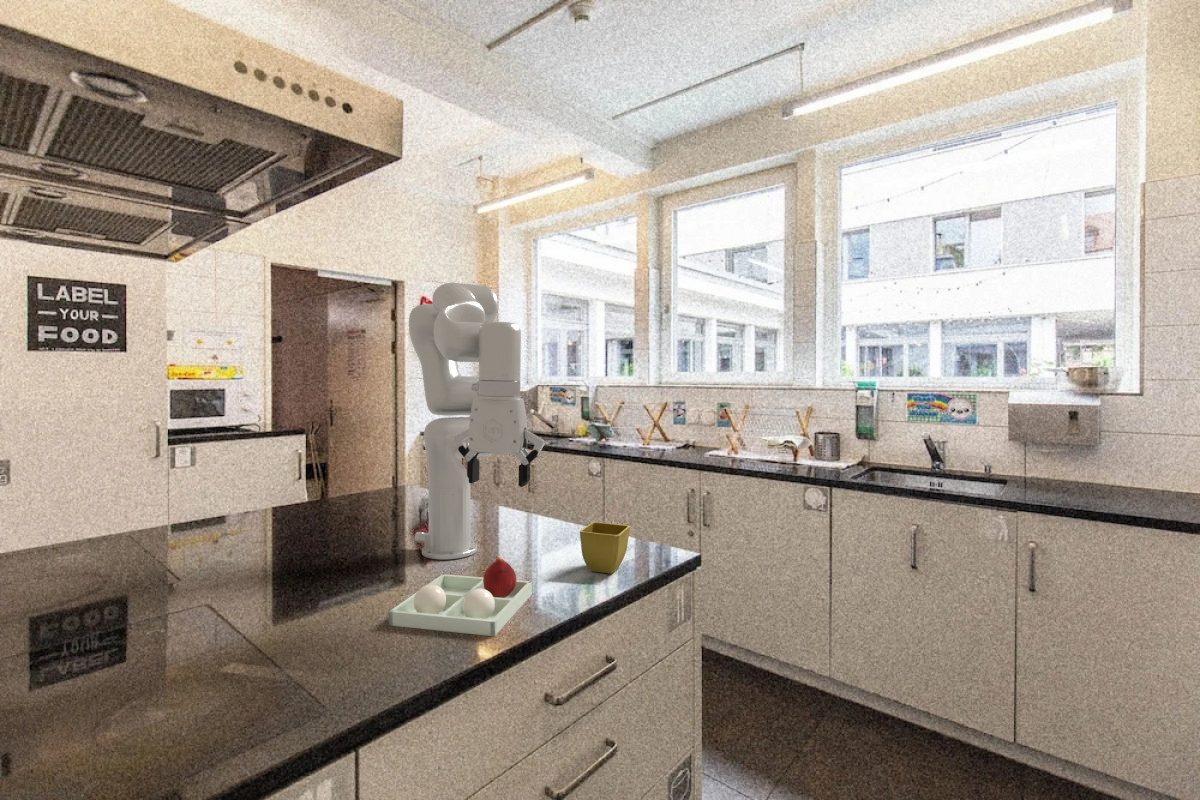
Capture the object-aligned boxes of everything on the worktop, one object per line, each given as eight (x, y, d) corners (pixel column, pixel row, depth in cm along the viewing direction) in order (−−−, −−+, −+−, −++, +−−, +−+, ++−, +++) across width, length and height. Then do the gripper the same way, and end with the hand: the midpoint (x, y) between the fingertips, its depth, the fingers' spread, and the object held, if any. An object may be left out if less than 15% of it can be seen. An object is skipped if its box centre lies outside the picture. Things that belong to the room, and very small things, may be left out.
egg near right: (456, 625, 91) (456, 593, 91) (470, 613, 96) (470, 582, 96) (487, 628, 90) (487, 596, 90) (499, 615, 95) (499, 585, 95)
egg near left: (407, 620, 93) (407, 589, 93) (423, 608, 98) (423, 578, 98) (436, 623, 92) (436, 592, 92) (451, 611, 97) (451, 581, 97)
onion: (519, 595, 104) (519, 552, 104) (511, 607, 98) (511, 562, 98) (489, 593, 105) (489, 550, 105) (478, 605, 99) (478, 560, 99)
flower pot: (630, 565, 124) (630, 525, 124) (618, 578, 116) (618, 535, 116) (592, 561, 127) (592, 521, 127) (578, 573, 119) (578, 531, 119)
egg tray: (388, 631, 91) (388, 611, 91) (442, 590, 109) (442, 574, 109) (494, 642, 87) (494, 621, 87) (532, 598, 105) (532, 581, 105)
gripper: (445, 389, 101) (445, 484, 102) (538, 393, 98) (536, 491, 99) (464, 388, 109) (464, 476, 110) (551, 391, 105) (549, 482, 106)
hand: (498, 483), depth 104 cm, fingers open, 9 cm apart
